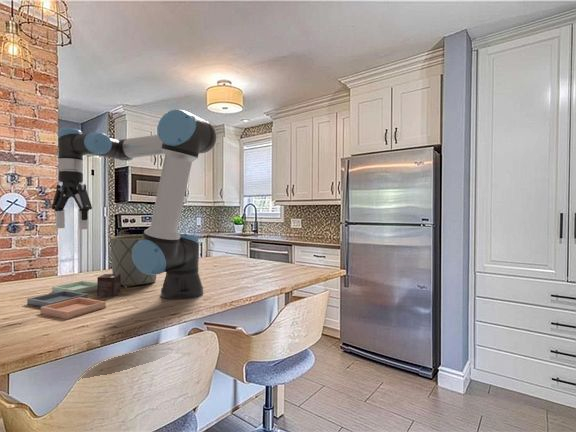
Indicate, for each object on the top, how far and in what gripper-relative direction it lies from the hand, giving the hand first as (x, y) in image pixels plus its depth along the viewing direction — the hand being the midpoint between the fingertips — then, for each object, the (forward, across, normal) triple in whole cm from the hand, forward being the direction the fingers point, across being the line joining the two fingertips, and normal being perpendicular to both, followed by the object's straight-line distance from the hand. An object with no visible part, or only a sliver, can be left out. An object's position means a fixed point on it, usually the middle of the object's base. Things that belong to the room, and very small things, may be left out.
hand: (71, 228), depth 124 cm
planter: (+25, -4, -25) cm, 35 cm away
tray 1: (+24, -6, +8) cm, 27 cm away
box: (+25, -13, -6) cm, 29 cm away
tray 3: (+25, -20, +12) cm, 34 cm away
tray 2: (+24, +4, -5) cm, 25 cm away
